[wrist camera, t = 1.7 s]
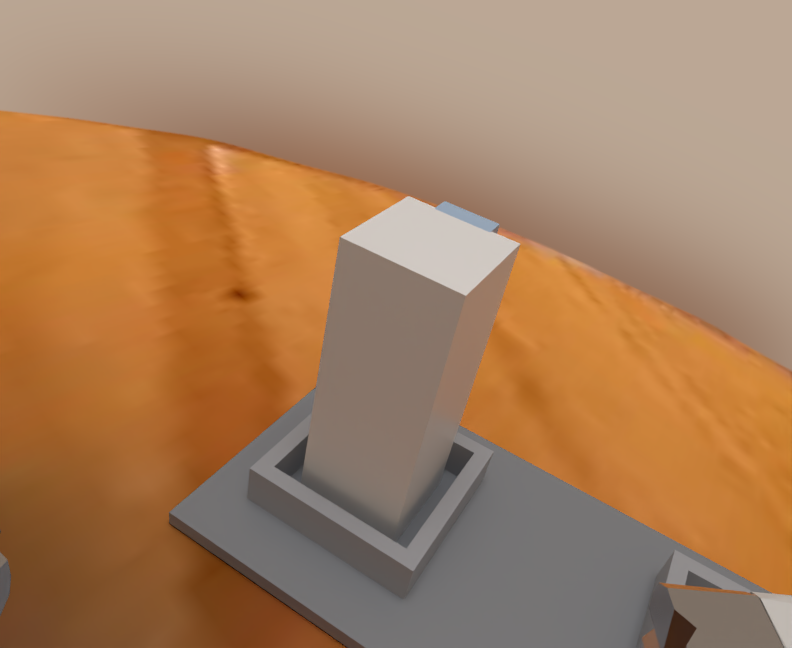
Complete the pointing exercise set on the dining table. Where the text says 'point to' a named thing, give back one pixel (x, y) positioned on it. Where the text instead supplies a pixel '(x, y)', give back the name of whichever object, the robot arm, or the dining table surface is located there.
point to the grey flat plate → (443, 552)
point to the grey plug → (401, 356)
